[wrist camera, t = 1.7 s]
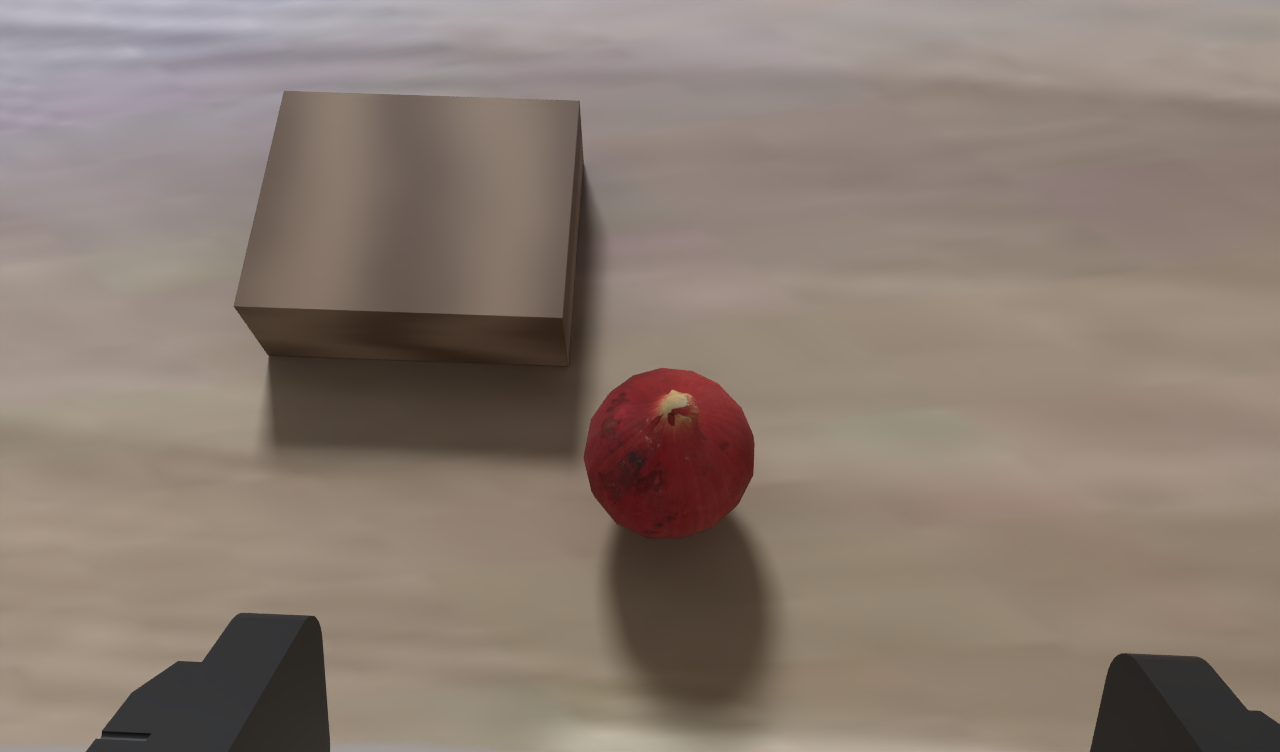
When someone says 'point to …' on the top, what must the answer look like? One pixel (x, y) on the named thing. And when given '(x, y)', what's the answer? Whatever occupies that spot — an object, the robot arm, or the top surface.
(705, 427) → the pomegranate
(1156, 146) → the top surface
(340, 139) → the plinth
